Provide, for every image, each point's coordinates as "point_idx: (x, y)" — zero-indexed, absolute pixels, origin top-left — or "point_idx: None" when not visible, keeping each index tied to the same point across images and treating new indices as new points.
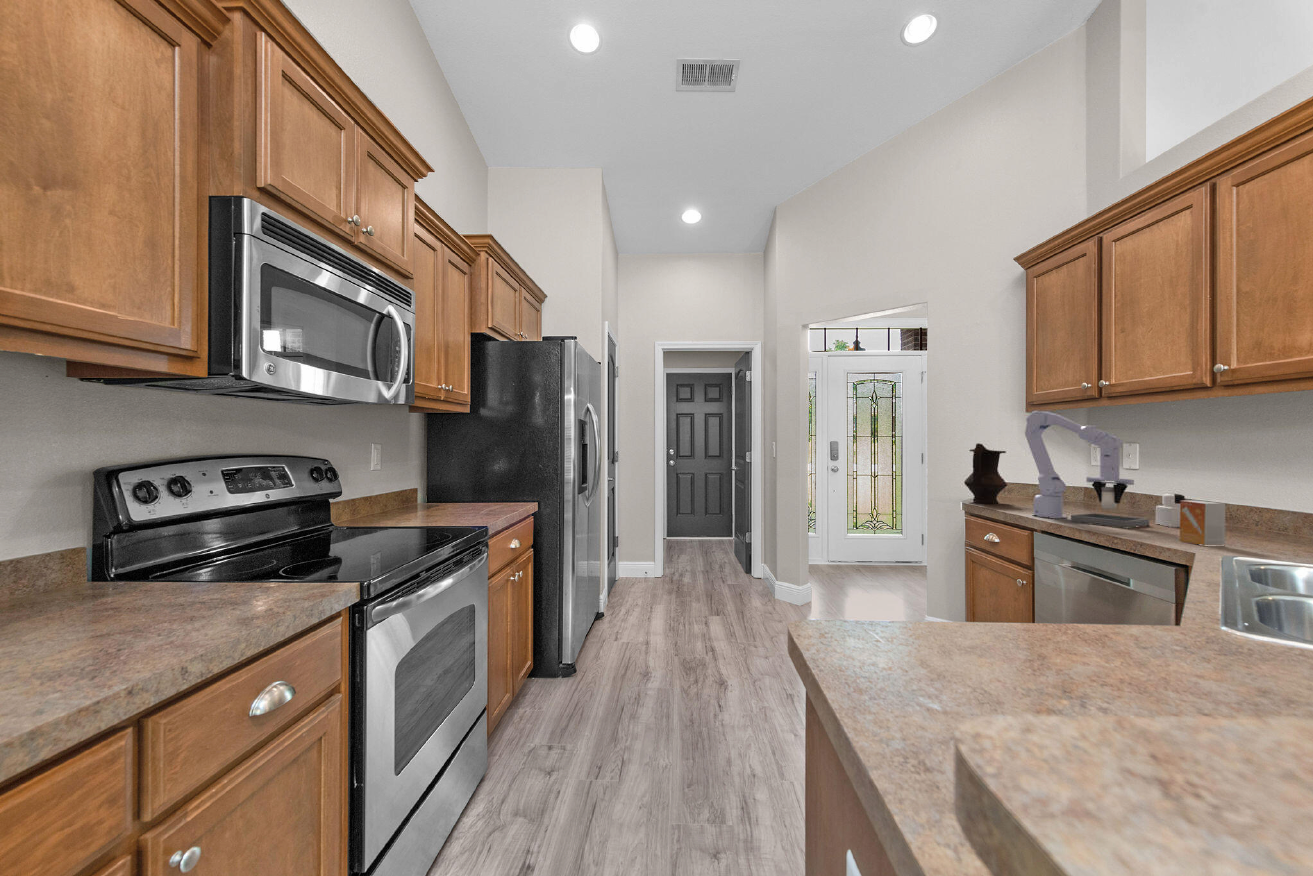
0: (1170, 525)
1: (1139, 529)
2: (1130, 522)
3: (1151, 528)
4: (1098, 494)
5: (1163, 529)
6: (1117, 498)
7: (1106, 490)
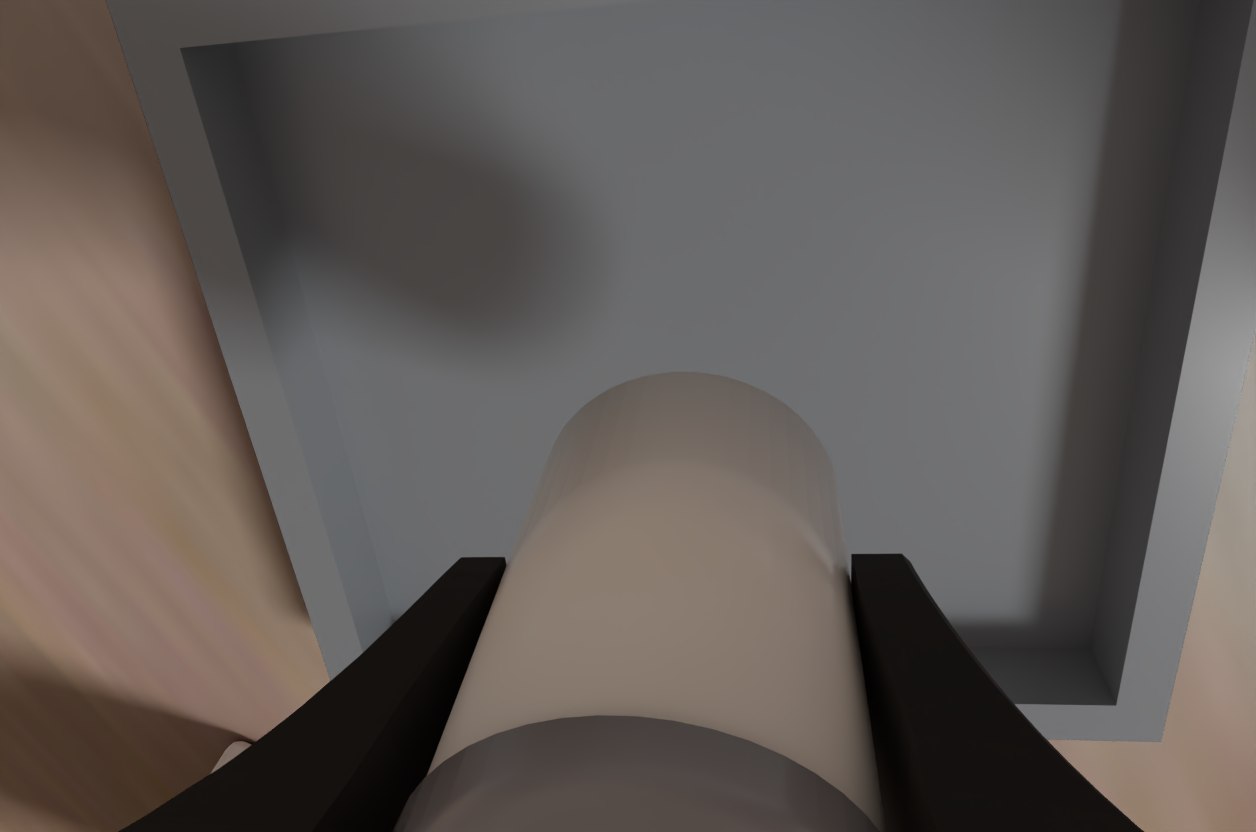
0: (231, 756)
1: (96, 115)
2: (170, 143)
3: (181, 428)
4: (954, 686)
5: (90, 478)
6: (380, 641)
7: (577, 759)
